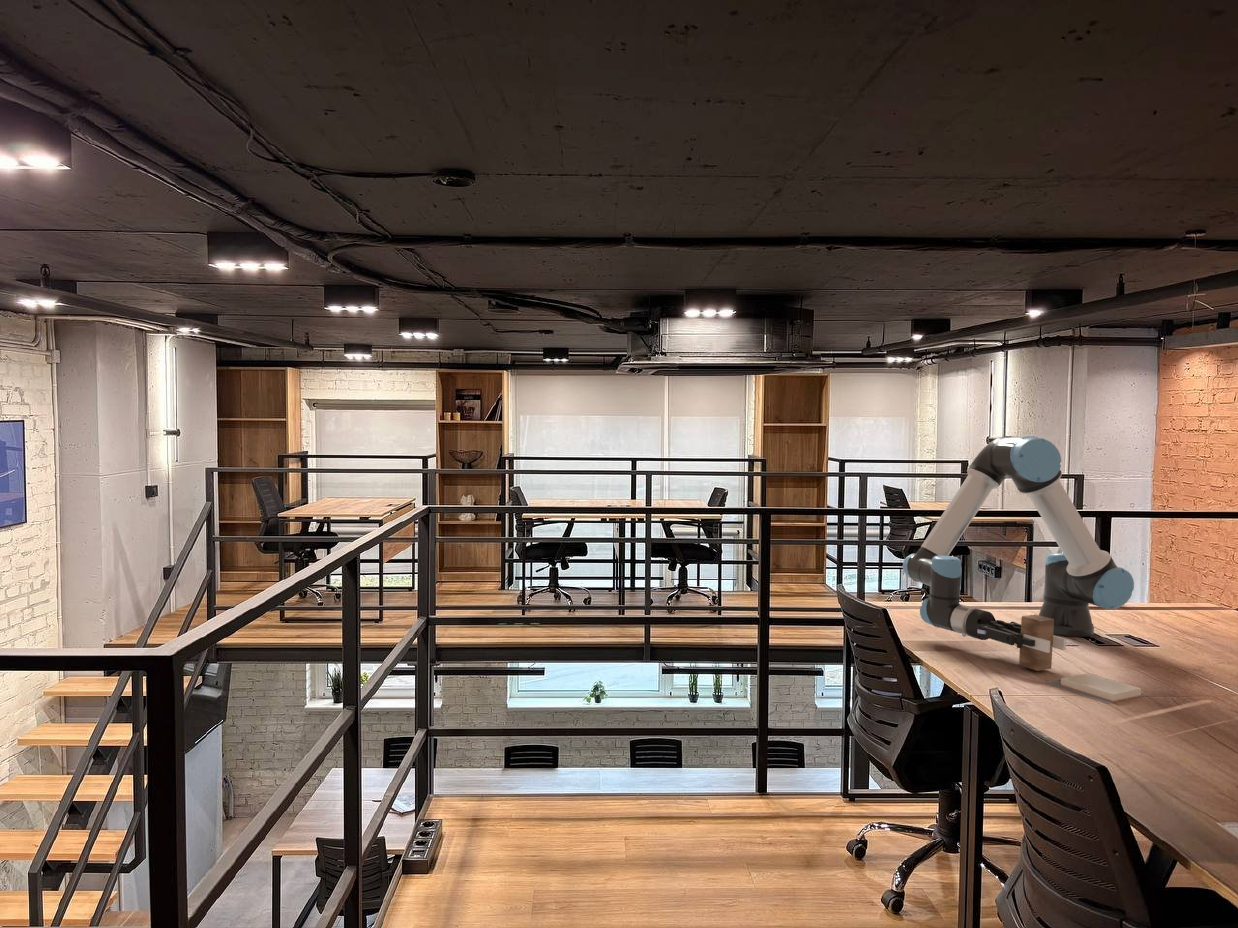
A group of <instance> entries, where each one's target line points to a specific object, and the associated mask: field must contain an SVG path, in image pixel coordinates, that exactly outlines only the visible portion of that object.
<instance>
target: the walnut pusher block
mask: <svg viewBox="0 0 1238 928" xmlns="http://www.w3.org/2000/svg"><path fill="white" fill-rule="evenodd" d="M1020 624H1021V635H1022V637H1023V635H1024V634H1026V635H1030V636H1034V637H1037V638H1041V639H1045V640H1048V641H1050V652H1049V653H1047V652H1043V651H1040V650H1036V649H1033V648H1029V647H1026V646H1023V644H1022V648H1019V658H1018V665H1019V666H1021V667H1024V668H1028V669H1030V670H1034V671H1035V672H1037V671H1044V670H1051V669H1052V663H1053V661H1052V660H1053V649H1054V648H1053V635H1054V634H1053V631H1054V619H1051V618H1047V617H1043V616H1039V614H1028V615H1022V616H1021V622H1020Z"/></svg>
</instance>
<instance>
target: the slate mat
mask: <svg viewBox="0 0 1238 928" xmlns="http://www.w3.org/2000/svg"><path fill="white" fill-rule="evenodd" d="M1044 684H1045V685H1048V686H1051V687H1055V688H1058V689H1060V690H1064V691H1067V692H1070V693H1073V694H1075V695H1079V696H1082V697H1085V698H1089V699H1091V700H1095V701H1098V702H1101V703H1104V704H1108V705H1111V704H1114V703H1119V702H1125V701H1128V700H1129V701H1130V700H1133V699H1134V700H1135V699H1138V698H1142V697H1147V696H1148V695H1147V694H1143V693H1141V696H1139V697H1135V698H1130V699H1125V700H1121V701H1116V702H1111V701H1108V700H1105V699H1101V698H1098V697H1095V696H1092V695H1089V694H1086V693H1083V692H1080V691H1077V690H1073V689H1070V688H1067V687H1064V686H1061V679H1059V680H1053V681H1052V680H1051V681H1047V682H1044Z"/></svg>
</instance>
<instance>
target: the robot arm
mask: <svg viewBox="0 0 1238 928" xmlns="http://www.w3.org/2000/svg"><path fill="white" fill-rule="evenodd" d="M1061 463H1062V456H1061V453H1060V451H1059V449H1058V447H1057V446H1056V445H1055V444H1054V443H1053V442H1051V441H1050V440H1047V439H1045V438H1042V437H1037V436H1013V435H1012V436H1011V435H1005V436H1004V435H1003V436H1000V437H998V438H995V439H993V440H992V441H990V442H989V443H987V445H986V446H984V447H983V448H982V449H981V451H979V453H978V454H977V455H976V456H975V458H974V459H973V460H972V462H971V464H970V465H969V466H968V468H967V470H966V472H967V476H966V477H965V479H964V481H963V483H962V484H961V485H960V487H959V488H958V490H957V491H956V493H955V494H954V496H953V497H952V499H951V501H950V502H949V504H948V505H947V506H946V508H945V510H944V511H943V513H942V514H941V515H940V517H939V519H938V520H937V521H936V523H935V525H934V526H933V528H932V529H931V531H930V532H929V534H928V535H927V537H926V538H925V540H924V542H922V544H921V546H920V548H918V551H917V552H915V553H911V554H909V555H908V556H906V557H905V559H903V563H902V570H903V572H904V575H905V576H906V577H908V578H910V579H911V580H912V581H913V582H917V583H920V584H924V585H926V586H928V587H929V589H930V592H929V597H925V599H923V601H922V602H921V606H920V608H919V615H920V618H921V619H922V620H923V621H922V622H924V623H925V624H927V625H931V626H934V627H935V628H937V629H938V628H939V629H943V630H947V631H951V632H954V633H958V634H961V636H962V637H964V638H965V637H970V638H973V639H977V640H980V641H986V640H993V641H996V642H999V643H1003V644H1006V645H1010V646H1014V645H1016V648H1017V649H1020V648H1022V644H1023V646H1026V647H1029V648H1033V649H1036V650H1040V651H1043V652H1047V653H1049V652H1050V641H1048V640H1045V639H1041V638H1037V637H1034V636H1030V635H1026V634H1024V635H1023V637H1022V635H1021V623H1018V622H1015V621H1010V622H1005V621H1004V620H1000V619H996V618H995V616H994V614H993V613H992V612H990V611H987V610H985V609H980V608H976V607H973V606H968V605H963V604H960V601H961V600H960V598H961V597H960V596H961V584H962V574H963V573H962V572H963V571H962V561H961V559H960V558H959V557H956V556H951V555H950V554H951V552H952V551H953V549H954V548H955V546H956V545H957V543H958V542H959V541H960V539H961V538H962V536H963V534H964V533H965V531H966V530H967V528H968V527H969V525H970V524H971V522H972V521H973V520H974V518H975V516H976V515H977V513H978V512H979V510H980V509H981V508H982V506H983V504H984V503H985V501H986V500H987V498H988V497H989V495H990V494H991V492H992V491H993V490H995V489H998V488H999V487H1000V486H1001V484H1002V483H1003V482H1004V481H1005V480H1006V479H1011V480H1012V481H1013V483H1014V485H1015V487H1016V488H1017V490H1018V492H1019V493H1021V494H1024V495H1027V496H1028V497H1029V499H1030V501H1032V504H1033V506H1034V507H1035V509H1036V511H1037V512H1038V514H1039V515H1040V517H1041V519H1042V521H1043V522H1044V524H1045V525H1046V527H1047V528H1048V531H1049V532H1050V534H1051V535H1052V537H1053V539H1054V541H1055V542H1056V544H1057V545H1058V548H1059V549H1060V551H1061V552H1051V553H1049V554H1047V556H1046V561H1045V564H1044V570H1045V571H1044V589H1043V590H1044V591H1043V592H1044V593H1043V603H1042V606H1041V607H1040V611H1039V613H1038V615H1039V616H1043V617H1047V618H1051V619H1054V631H1053V648H1052V649H1057V650H1061V651H1066V646H1067V645H1066V643H1067V638H1064V637H1061V636H1066V637H1079V638H1084V637H1092V636H1094V634H1095V626H1094V623H1093V621H1092V616H1091V612H1090V609H1089V604H1090V605H1094V606H1096V607H1098V608H1102V609H1108V610H1115V609H1119V608H1121V607H1123V606H1125V604H1127V603H1128V601H1129V600H1130V599H1131V597H1132V596H1133V592H1134V589H1135V581H1134V578H1133V576H1132V574H1131V573H1130V572H1129V571H1128V570H1126V568H1123V567H1120V566H1119V567H1118V566H1117V564H1116V562H1115V561H1114V559H1113V557H1112V555H1111V554H1110V552H1108V551H1106V550H1102V549H1101V548H1100V547H1099V545H1098V544H1097V543H1096V541H1095V539H1094V537H1093V536H1092V533H1091V532H1090V530H1089V529H1088V527H1087V524H1086V523H1085V522H1084V520H1083V518H1082V516H1081V515H1080V513H1079V512H1078V510H1077V508H1076V506H1075V505H1074V503H1073V502H1072V500H1071V497H1069V494H1068V493H1067V491H1066V489H1065V488H1064V486H1063V484H1062V482H1061V481H1060V480H1061V478H1062V475H1063V473H1062V471H1061V467H1062V465H1061ZM1057 635H1058V636H1057Z"/></svg>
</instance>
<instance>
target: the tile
mask: <svg viewBox="0 0 1238 928" xmlns="http://www.w3.org/2000/svg"><path fill="white" fill-rule="evenodd" d="M1060 680H1061V686H1064V687H1067V688H1070V689H1073V690H1077V691H1080V692H1083V693H1086V694H1089V695H1092V696H1095V697H1098V698H1101V699H1105V700H1108V701H1111V702H1115V703H1117V702H1116V701H1120V702H1122V701H1121V700H1125V699H1129V700H1131V699H1130V698H1134V699H1136V698H1135V697H1139V696H1141V694H1142V688H1141V687H1137V686H1134V685H1130V684H1127V683H1124V682H1120V681H1116V680H1113V679H1110V678H1108V677H1105V676H1099V675H1096V674H1093V673H1090V672H1089V673H1088V672H1086V673H1083V674H1081V673H1080V674H1075V675H1072V676H1071V675H1070V676H1065V677H1061V678H1060ZM1139 698H1140V697H1139ZM1125 701H1126V700H1125Z"/></svg>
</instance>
